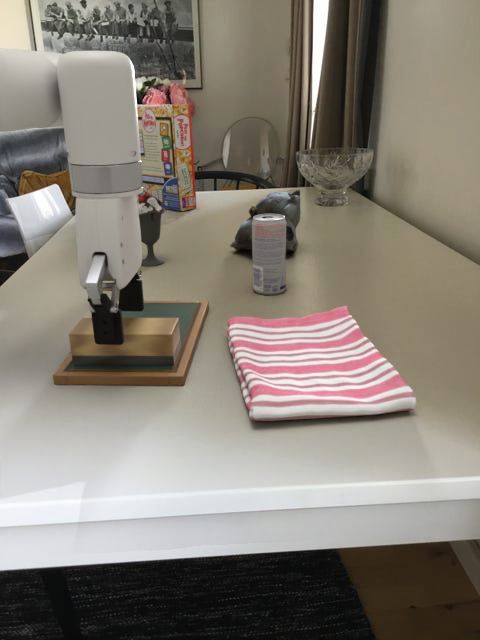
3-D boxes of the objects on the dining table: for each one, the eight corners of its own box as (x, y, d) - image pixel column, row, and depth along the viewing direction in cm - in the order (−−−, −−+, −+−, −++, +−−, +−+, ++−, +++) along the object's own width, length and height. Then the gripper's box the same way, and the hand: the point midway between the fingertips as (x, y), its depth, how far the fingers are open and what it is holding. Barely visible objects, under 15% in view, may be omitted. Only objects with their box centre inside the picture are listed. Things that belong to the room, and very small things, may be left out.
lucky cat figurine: (221, 247, 117) (237, 183, 117) (271, 263, 122) (286, 201, 122) (252, 242, 103) (269, 169, 104) (307, 260, 108) (323, 190, 109)
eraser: (73, 365, 66) (68, 334, 65) (86, 346, 71) (82, 317, 70) (174, 365, 66) (171, 334, 64) (181, 347, 70) (178, 317, 69)
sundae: (139, 269, 105) (131, 187, 99) (130, 260, 110) (122, 182, 105) (173, 264, 107) (167, 184, 101) (163, 255, 113) (156, 179, 107)
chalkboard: (54, 384, 65) (52, 375, 64) (112, 308, 87) (111, 300, 86) (183, 385, 64) (183, 376, 63) (209, 307, 86) (208, 300, 85)
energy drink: (281, 283, 95) (281, 212, 91) (289, 294, 90) (290, 219, 86) (250, 286, 94) (248, 214, 90) (256, 296, 90) (255, 221, 85)
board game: (197, 208, 156) (191, 103, 145) (180, 212, 151) (173, 104, 141) (151, 200, 169) (142, 103, 158) (134, 203, 165) (124, 104, 154)
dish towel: (347, 326, 78) (348, 302, 77) (418, 416, 56) (422, 385, 55) (224, 335, 76) (223, 311, 75) (250, 432, 55) (249, 401, 53)
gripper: (96, 167, 68) (110, 299, 75) (40, 193, 53) (64, 358, 59) (157, 167, 68) (166, 300, 75) (120, 194, 52) (135, 360, 59)
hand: (121, 325), depth 67 cm, fingers open, 9 cm apart
